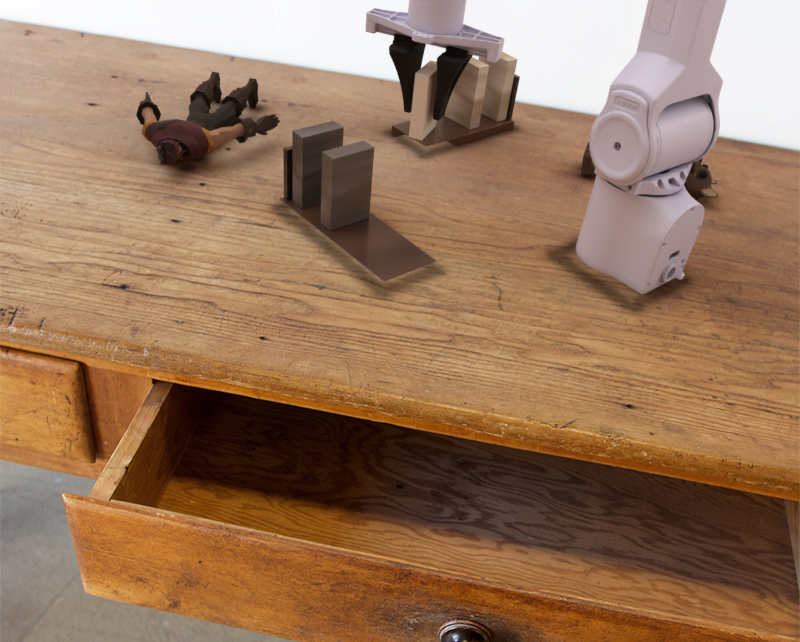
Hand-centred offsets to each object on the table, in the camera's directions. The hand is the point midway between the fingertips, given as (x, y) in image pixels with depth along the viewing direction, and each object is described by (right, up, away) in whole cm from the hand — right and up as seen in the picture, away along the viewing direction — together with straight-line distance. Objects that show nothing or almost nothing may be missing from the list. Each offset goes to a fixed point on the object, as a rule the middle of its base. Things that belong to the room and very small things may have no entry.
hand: (424, 113), depth 84 cm
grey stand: (-7, -17, -14) cm, 23 cm away
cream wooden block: (0, -2, +2) cm, 2 cm away
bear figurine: (+24, -8, -1) cm, 26 cm away
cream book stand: (+4, 0, +5) cm, 6 cm away
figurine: (-24, -4, -2) cm, 24 cm away
